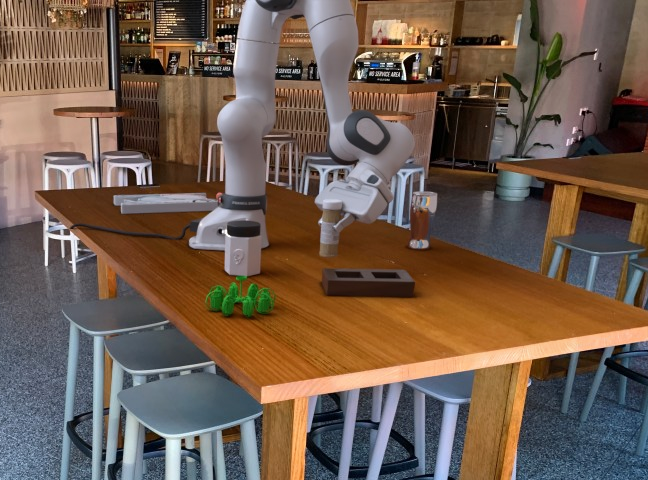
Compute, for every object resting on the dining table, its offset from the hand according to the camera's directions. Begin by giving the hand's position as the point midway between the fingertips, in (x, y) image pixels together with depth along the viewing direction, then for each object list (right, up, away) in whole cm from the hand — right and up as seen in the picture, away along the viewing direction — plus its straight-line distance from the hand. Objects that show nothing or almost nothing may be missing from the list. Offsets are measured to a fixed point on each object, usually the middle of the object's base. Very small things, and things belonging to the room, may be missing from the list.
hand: (328, 227), depth 189 cm
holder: (+7, -16, -9) cm, 19 cm away
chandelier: (-23, -22, -23) cm, 39 cm away
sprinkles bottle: (0, -6, +3) cm, 7 cm away
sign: (-42, +25, +89) cm, 102 cm away
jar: (-20, -10, +5) cm, 23 cm away
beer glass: (+31, +1, +32) cm, 45 cm away
